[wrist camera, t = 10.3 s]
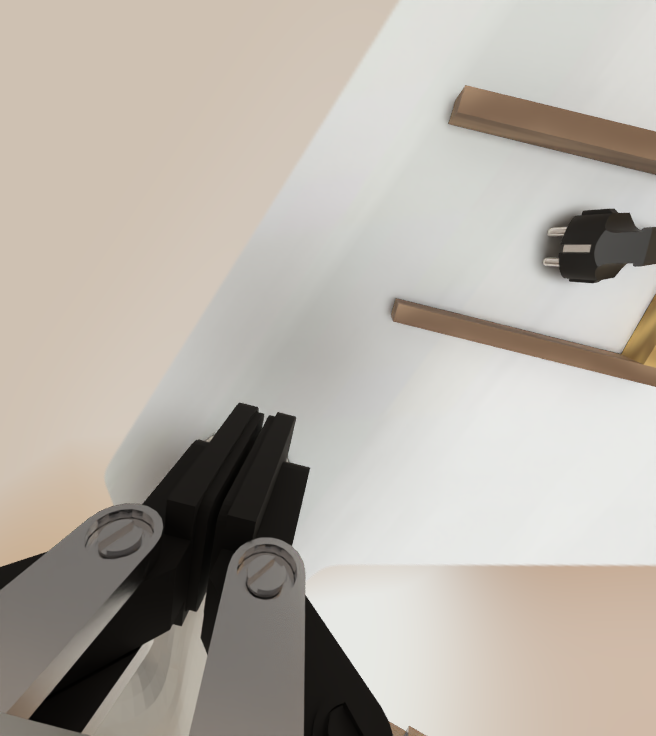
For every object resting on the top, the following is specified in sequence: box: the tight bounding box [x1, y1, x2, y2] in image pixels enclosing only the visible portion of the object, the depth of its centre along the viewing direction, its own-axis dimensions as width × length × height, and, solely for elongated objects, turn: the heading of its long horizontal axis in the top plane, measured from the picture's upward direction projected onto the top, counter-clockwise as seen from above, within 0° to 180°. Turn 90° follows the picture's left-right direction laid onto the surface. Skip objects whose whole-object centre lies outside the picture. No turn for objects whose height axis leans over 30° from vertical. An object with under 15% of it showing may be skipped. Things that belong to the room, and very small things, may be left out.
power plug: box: [543, 209, 656, 283], centre depth 30 cm, size 6×8×12 cm
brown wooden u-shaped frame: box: [391, 85, 656, 387], centre depth 31 cm, size 18×26×3 cm
